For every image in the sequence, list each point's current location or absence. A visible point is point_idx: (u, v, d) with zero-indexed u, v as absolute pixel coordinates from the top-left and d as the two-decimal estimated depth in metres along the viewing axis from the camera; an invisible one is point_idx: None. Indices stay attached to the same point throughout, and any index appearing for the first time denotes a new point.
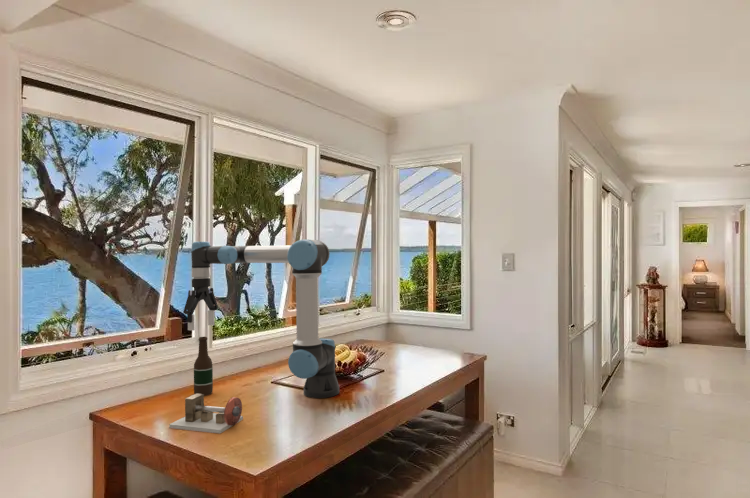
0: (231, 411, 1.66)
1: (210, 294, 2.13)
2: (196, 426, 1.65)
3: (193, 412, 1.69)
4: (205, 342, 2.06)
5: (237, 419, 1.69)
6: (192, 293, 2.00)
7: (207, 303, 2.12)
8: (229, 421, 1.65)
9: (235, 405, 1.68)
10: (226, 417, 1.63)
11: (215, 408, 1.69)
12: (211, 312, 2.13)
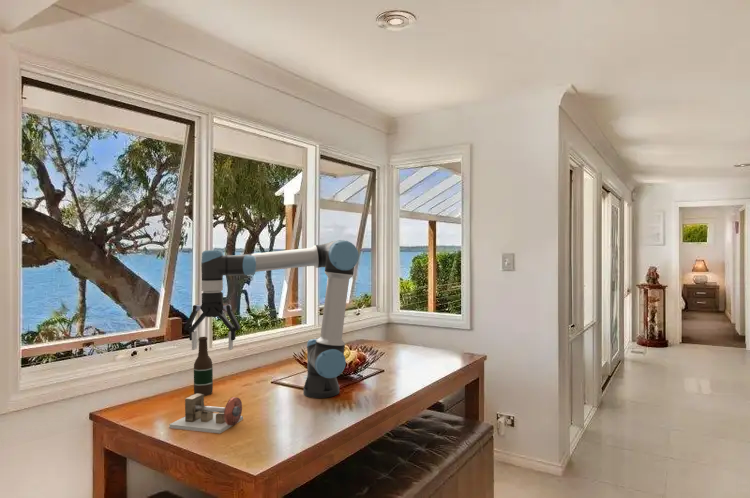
0: (231, 411, 1.66)
1: None
2: (196, 426, 1.65)
3: (193, 412, 1.69)
4: (205, 342, 2.06)
5: (237, 419, 1.69)
6: (193, 308, 1.79)
7: None
8: (229, 421, 1.65)
9: (235, 405, 1.68)
10: (226, 417, 1.63)
11: (215, 408, 1.69)
12: None
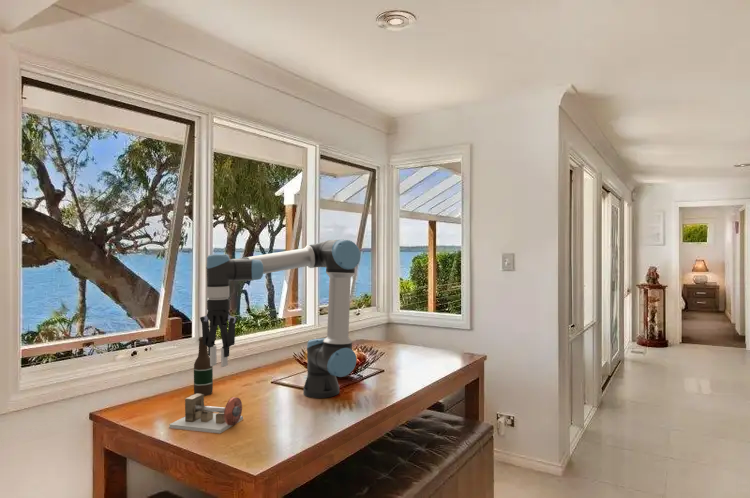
0: (231, 411, 1.66)
1: None
2: (196, 426, 1.65)
3: (193, 412, 1.69)
4: None
5: (237, 419, 1.69)
6: None
7: None
8: (229, 421, 1.65)
9: (235, 405, 1.68)
10: (226, 417, 1.63)
11: (215, 408, 1.69)
12: None
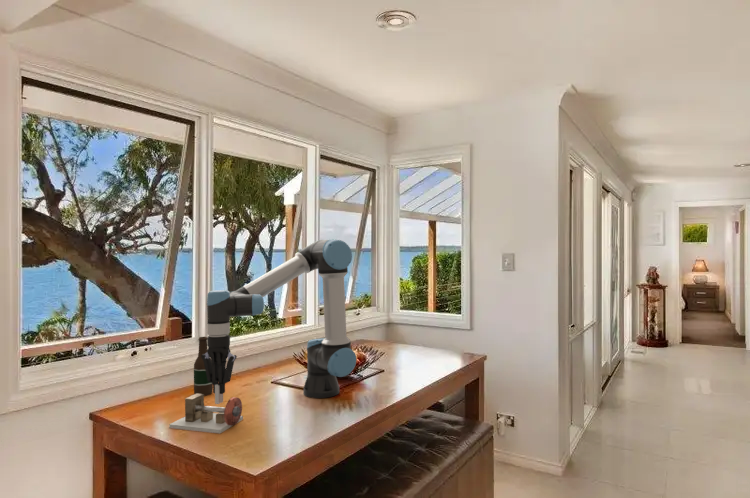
0: (231, 411, 1.66)
1: None
2: (196, 426, 1.65)
3: (193, 412, 1.69)
4: (205, 342, 2.06)
5: (237, 419, 1.69)
6: None
7: None
8: (229, 421, 1.65)
9: (235, 405, 1.68)
10: (226, 417, 1.63)
11: (215, 408, 1.69)
12: None
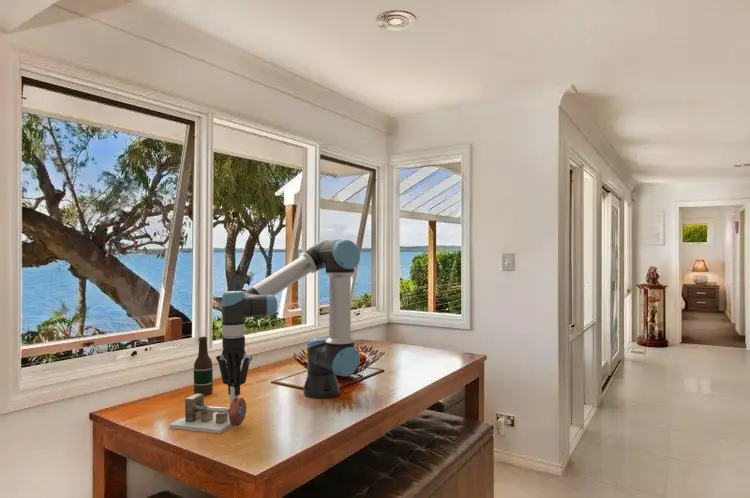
0: (235, 411, 1.65)
1: None
2: (196, 426, 1.65)
3: (193, 412, 1.69)
4: (205, 342, 2.06)
5: (241, 419, 1.69)
6: None
7: None
8: (233, 421, 1.64)
9: (239, 405, 1.68)
10: (230, 417, 1.63)
11: (219, 408, 1.69)
12: None
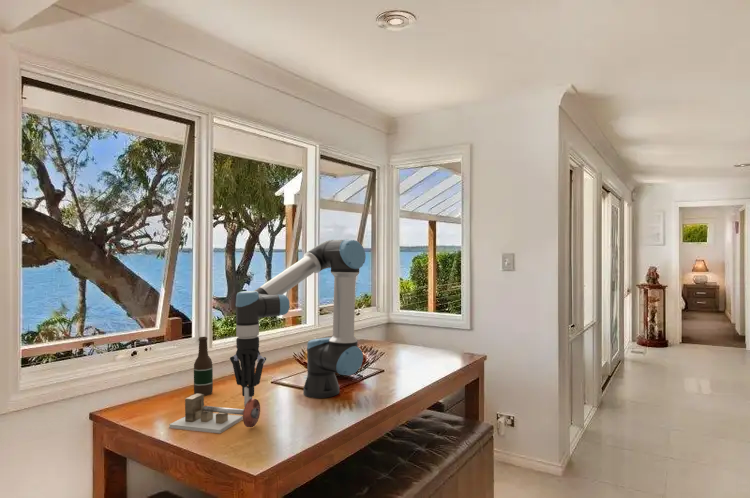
0: (250, 413, 1.64)
1: None
2: (196, 426, 1.65)
3: (193, 412, 1.69)
4: (205, 342, 2.06)
5: (255, 421, 1.67)
6: None
7: None
8: (248, 423, 1.62)
9: (253, 407, 1.66)
10: (245, 419, 1.61)
11: (233, 410, 1.67)
12: None
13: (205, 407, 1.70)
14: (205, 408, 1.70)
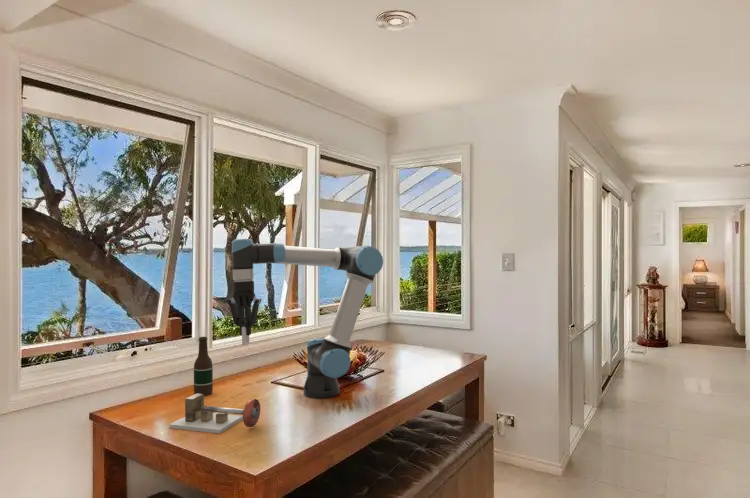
0: (250, 413, 1.64)
1: None
2: (196, 426, 1.65)
3: (193, 412, 1.69)
4: (205, 342, 2.06)
5: (255, 421, 1.67)
6: None
7: None
8: (248, 423, 1.62)
9: (254, 407, 1.66)
10: (245, 419, 1.61)
11: (233, 410, 1.67)
12: None
13: (205, 407, 1.70)
14: (205, 408, 1.70)
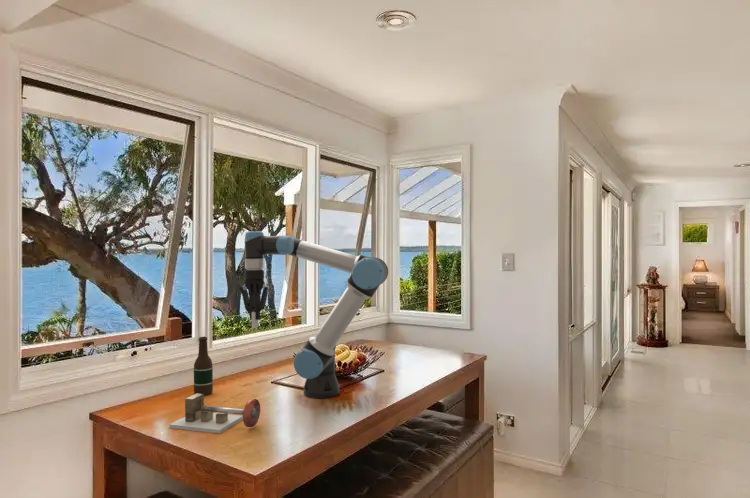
0: (250, 413, 1.64)
1: None
2: (196, 426, 1.65)
3: (193, 412, 1.69)
4: (205, 342, 2.06)
5: (255, 421, 1.67)
6: None
7: None
8: (248, 423, 1.62)
9: (254, 407, 1.66)
10: (245, 419, 1.61)
11: (233, 410, 1.67)
12: None
13: (205, 407, 1.70)
14: (205, 408, 1.70)
